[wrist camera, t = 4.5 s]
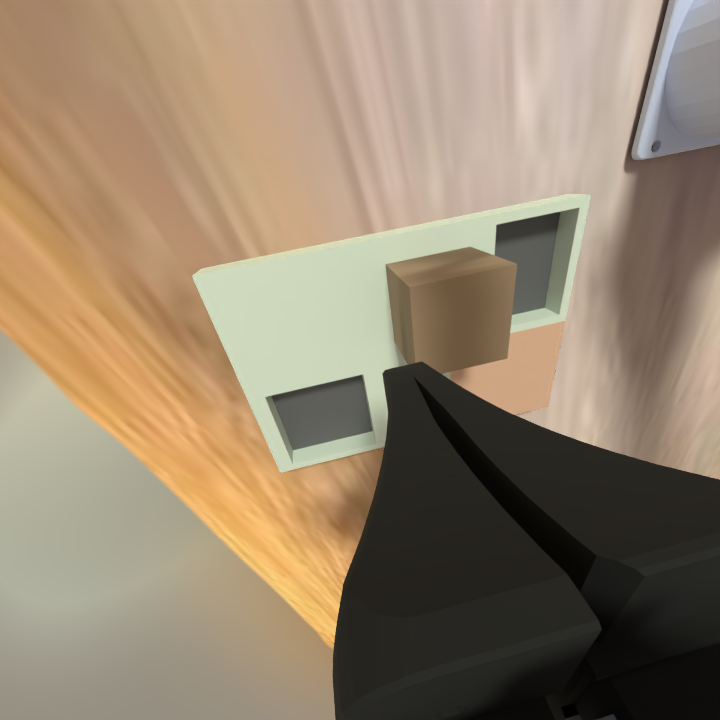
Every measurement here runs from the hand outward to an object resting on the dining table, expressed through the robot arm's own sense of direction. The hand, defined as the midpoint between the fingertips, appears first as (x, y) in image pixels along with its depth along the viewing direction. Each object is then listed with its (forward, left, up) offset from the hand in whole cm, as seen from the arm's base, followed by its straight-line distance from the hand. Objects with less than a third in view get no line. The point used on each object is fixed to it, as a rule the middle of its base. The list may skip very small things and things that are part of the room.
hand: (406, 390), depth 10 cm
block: (-4, 0, -8) cm, 8 cm away
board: (-2, +4, -9) cm, 10 cm away
